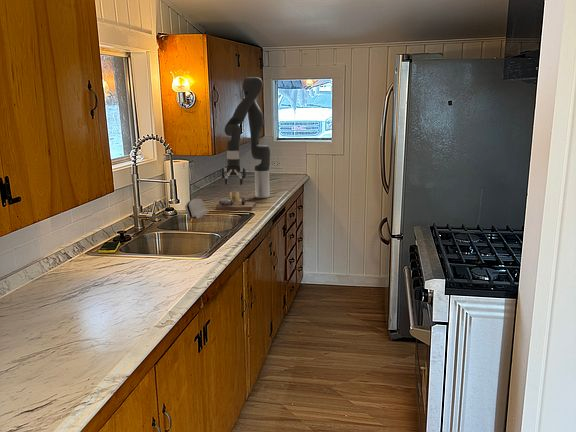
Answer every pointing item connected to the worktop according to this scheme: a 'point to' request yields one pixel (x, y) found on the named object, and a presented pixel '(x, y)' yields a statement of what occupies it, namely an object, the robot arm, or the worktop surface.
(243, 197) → the carrier pin
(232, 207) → the carrier
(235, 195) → the planet gear
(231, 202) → the sun gear
